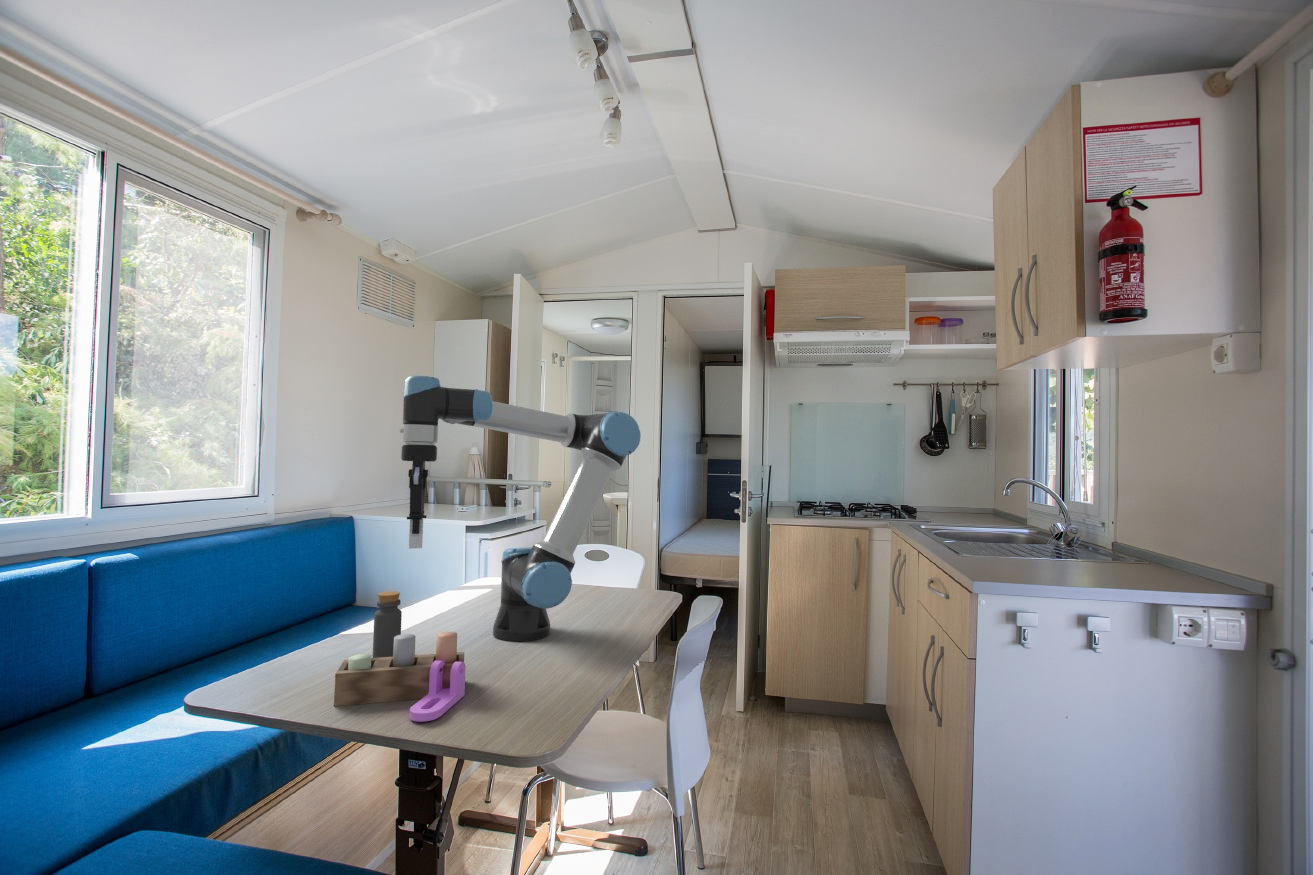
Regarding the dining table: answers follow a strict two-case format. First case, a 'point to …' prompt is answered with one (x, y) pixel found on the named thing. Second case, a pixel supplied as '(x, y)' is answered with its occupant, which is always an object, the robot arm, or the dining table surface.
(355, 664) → the green rounded cylinder
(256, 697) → the dining table surface
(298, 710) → the dining table surface
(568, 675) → the dining table surface
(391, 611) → the bottle
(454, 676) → the bracket
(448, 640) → the brown egg
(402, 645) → the grey rounded cylinder
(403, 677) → the walnut rack
